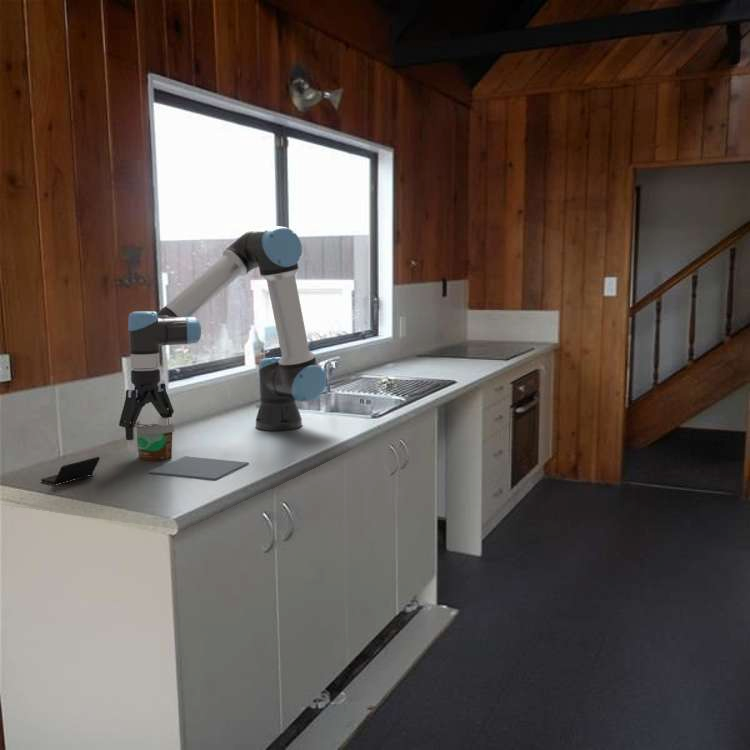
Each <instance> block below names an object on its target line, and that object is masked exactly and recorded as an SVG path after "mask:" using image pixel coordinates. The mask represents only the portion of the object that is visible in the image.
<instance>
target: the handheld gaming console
mask: <svg viewBox="0 0 750 750" xmlns="http://www.w3.org/2000/svg"><path fill="white" fill-rule="evenodd" d="M100 459H101V457H99V456H96V457H93V458H89V459H85V460H81V461H77V462H73V463H70V464H65V465H62V466H61V467H60V469H59V471H58V473H57V474H56V475H52V476H51V475H50V476H48V477H44V478H40V480H41V481H42V482H47V483H51V484H55V485H56V484H59V483H63V482H66V481H70V480H73V479H77V480H79V479H78V478H81V477H84V478H86V477H85V476H88V475H91V476H93V475H94V471H95V470H96V468H97V465H98V463H99V461H100ZM92 474H93V475H92ZM88 477H89V476H88ZM81 479H82V478H81ZM42 482H41V483H42ZM70 482H71V481H70ZM47 483H46V484H47ZM66 483H67V482H66ZM51 484H50V485H51ZM63 484H64V483H63ZM55 485H54V486H55ZM56 486H57V485H56Z"/></svg>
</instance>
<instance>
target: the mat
mask: <svg viewBox="0 0 750 750" xmlns="http://www.w3.org/2000/svg"><path fill="white" fill-rule="evenodd" d="M247 464H248V465H249V464H250V463H249V462H248V461H239V460H238V461H237V460H230V459H229V460H228V459H218V458H217V459H215V458H206V457H196V456H187V455H186V456H182V457H180V458H177V459H176V460H173V461H171V462H168V463H165V464H163V465H161V466H158V467H156V468H154V469H151V470H149V471H148V474H153V475H160V476H161V475H163V476H172V477H181V478H189V479H190V478H191V479H199V480H208V481H209V480H210V481H217V480H220V479H222V478H224V477H225V475H226V476H228V475H230V474H232V473H234V472H236V471H237V469H238V470H240V469H242V468H244V467H245V465H246V466H248V465H247ZM243 466H244V467H243ZM241 467H242V468H241ZM239 468H240V469H239ZM235 470H236V471H235ZM233 471H234V472H233ZM231 472H232V473H231ZM229 473H230V474H229ZM227 474H228V475H227ZM223 476H224V477H223ZM221 477H222V478H221ZM219 478H220V479H219Z"/></svg>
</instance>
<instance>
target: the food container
mask: <svg viewBox="0 0 750 750" xmlns="http://www.w3.org/2000/svg"><path fill="white" fill-rule="evenodd" d="M134 427H136V428H137V449H138V451H137V452H138V458H139V461H141V462H145V463H157V462H159V463H160V462H164V461H165V462H166V461H169V460H172V453H173V432H175V428H174V425H173V423H169V425H164V426H161V425H159V424H155V423H153V424H144V423H143V424H142V423H140V420H137V421H136V423H135V425H134Z"/></svg>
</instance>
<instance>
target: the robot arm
mask: <svg viewBox="0 0 750 750" xmlns="http://www.w3.org/2000/svg"><path fill="white" fill-rule="evenodd" d="M302 252H303V246H302V242H301V239H300V238H299V236H298V235H297V233H296V232H295V231H293V229H290V228H288V227H287V226H286V227H285V226H278V225H276V226H268V227H258V228H253V229H250V230H248V231H246V232H245V233H244V234H242V235H241V236H239V237H238V238H237V239H236V240H235V241H233V242H232V244H230V245H229V246H228V247H226V249H224V251H222V256H221V257H220V258H219V259H218V260H217V261H216V262H215V263H213V264H212V265H211V266H210V267H208V268H207V270H205V271H204V272H203V273H202V274H201V275H199V276H198V277H197V278H196V279H195V280H193V282H191V283H190V284H189V285H188V286H187V287H186V288H185V289H183V290H182V291H181V292H180V293H179V294H178V295H176V296H175V297H174V298H173V299H172V300H170V301H169V302H168V303H167V304H166V305H165V306H164V307H162V308H161V309H160V310H159V311H154V310H153V311H152V310H151V311H149V310H147V311H143V310H142V311H132V312H130V313H129V315H128V322H127V323H128V325H127V326H128V327H127V330H128V339H129V354H130V355H129V356H130V358H129V359H130V368H131V369H132V370H131V371H130V381H131V384H133V385H134V388H133V389H126V390H125V401H124V403H123V408H122V411H121V414H120V419H119V421H118V426H119V427H122V428H125V429H124V430H125V439H126V448H127V452H130V453H131V452H133V453H137V452H138V446H137V428H136V427H134V425H135V423H136V422H137V421H138V418H139V416H140V415H141V414H140V413H141V412H142V409H143V407H146V405H147V404H149V403H151V404H152V405H153V408H155V410H156V412H157V413H158V414H159V415H160V416H159V417H158V419H157V420H158V425H161V426H164V425H169V424H170V418H172V417H173V414H174V412H175V411H174V408H173V406H172V403H171V400H170V397H169V395H168V393H167V388H166V383H163V382H161V371H160V369H159V368H160V367H161V362H160V346H161V347H162V346H163V347H164V346H174V345H175V346H176V345H178V346H179V345H187V346H188V345H191V344H197V343H198V342H199V341H200V339H201V337H202V325H201V323H200V321H199V319H198V318H197V317H194V316H195V315H196V314H198V312H200V311H201V310H202V309H203V308H205V306H206V305H208V304H209V303H210V302H211V301H212V300H214V299H215V297H217V296H218V295H219V294H220V293H221V292H222V291H223V290H225V289H226V288H227V287H228V286H230V284H231V283H233V282H234V281H235V280H236V279H237V278H238V277H240V276H246V275H247V274H248V273H249V272H250V271H252V270H254V269H257V268H258V270H259V274H260V277H262V278H263V279H265V280H266V282H267V283H266V284H267V288H268V292H269V293H268V294H269V298H270V304H271V308H272V314H273V318H274V323H275V324H274V325H275V327H276V333H277V337H278V343H279V348H280V352H281V353H280V354H281V356H276V357H267V358H262V359H260V361H259V364H258V375H259V398H260V404H259V407H258V412H257V415H256V419H255V428H256V429H259V430H262V431H287V430H289V431H290V430H295V429H299V428H300V427H301V426H302V425H303V422H302V421H303V419H302V415H301V413H300V410H299V407H298V403H297V401H298V402H313V401H316V400H317V399H318V398H320V396H321V395H322V393H323V392H324V391H325V388H326V384H327V375H326V372H325V371H324V369H323V368H322V367H320V366H319V365H317V359H316V355H315V354H314V353H313V352H311V351H310V349H309V343H308V338H307V332H306V328H305V327H306V326H305V322H304V318H303V312H302V307H301V306H302V305H301V302H300V301H301V300H300V296H299V295H300V294H299V291H298V285H297V280H296V274H297V272H298V271H299V264H298V262H299V261H300V258H301V256H302ZM301 428H302V427H301Z"/></svg>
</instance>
